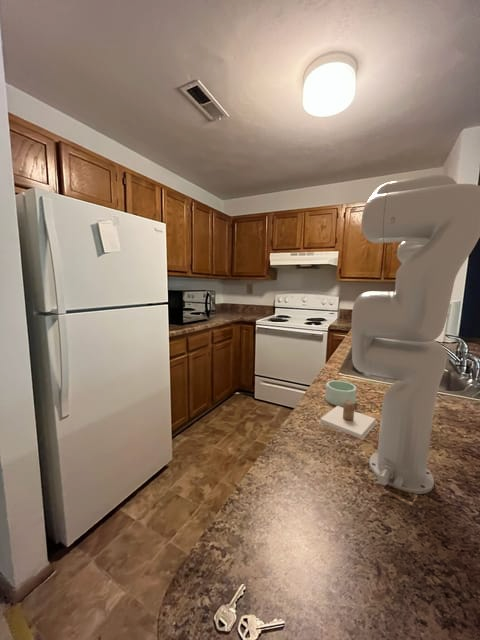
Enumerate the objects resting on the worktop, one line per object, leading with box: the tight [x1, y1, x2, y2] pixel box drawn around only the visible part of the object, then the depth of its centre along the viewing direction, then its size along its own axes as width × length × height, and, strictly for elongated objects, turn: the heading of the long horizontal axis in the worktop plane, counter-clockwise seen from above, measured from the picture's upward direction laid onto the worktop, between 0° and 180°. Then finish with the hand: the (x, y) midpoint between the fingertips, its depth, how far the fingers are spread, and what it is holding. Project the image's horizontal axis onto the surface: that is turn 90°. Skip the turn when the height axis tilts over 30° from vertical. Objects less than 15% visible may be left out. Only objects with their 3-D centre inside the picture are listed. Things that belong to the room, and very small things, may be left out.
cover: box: [319, 401, 376, 438], centre depth 81 cm, size 12×12×6 cm
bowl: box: [324, 379, 358, 408], centre depth 96 cm, size 10×10×6 cm
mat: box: [317, 420, 378, 440], centre depth 82 cm, size 13×13×1 cm
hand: (410, 337), depth 85 cm, fingers open, 9 cm apart
